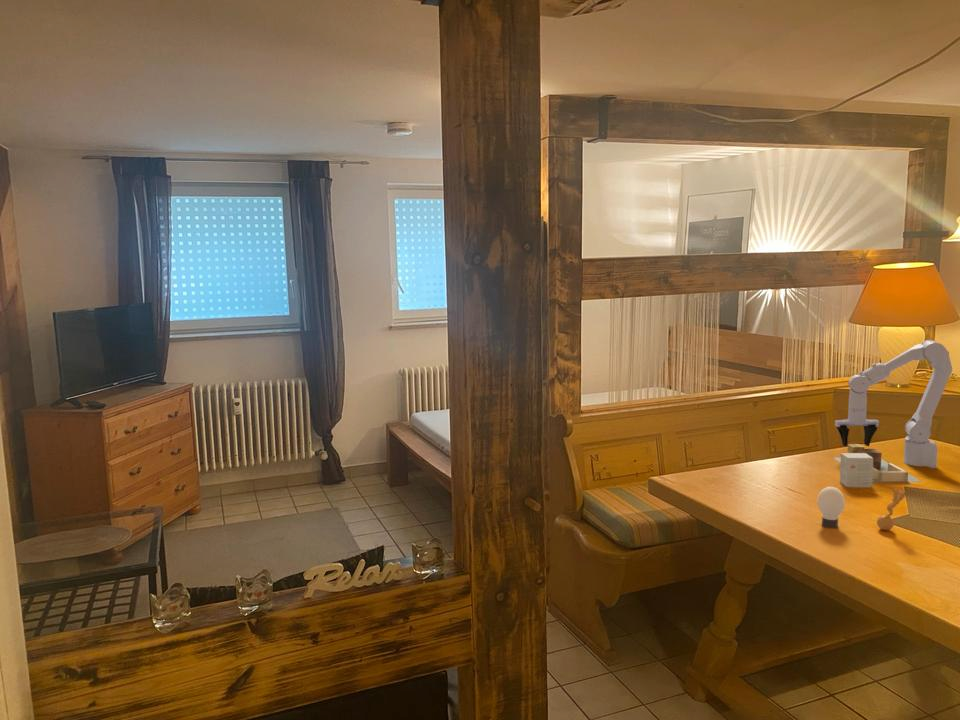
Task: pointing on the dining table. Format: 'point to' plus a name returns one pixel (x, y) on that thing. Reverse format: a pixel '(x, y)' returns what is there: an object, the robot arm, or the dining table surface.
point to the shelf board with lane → (890, 473)
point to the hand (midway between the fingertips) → (855, 445)
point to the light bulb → (830, 506)
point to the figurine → (885, 520)
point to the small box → (856, 470)
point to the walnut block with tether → (871, 452)
